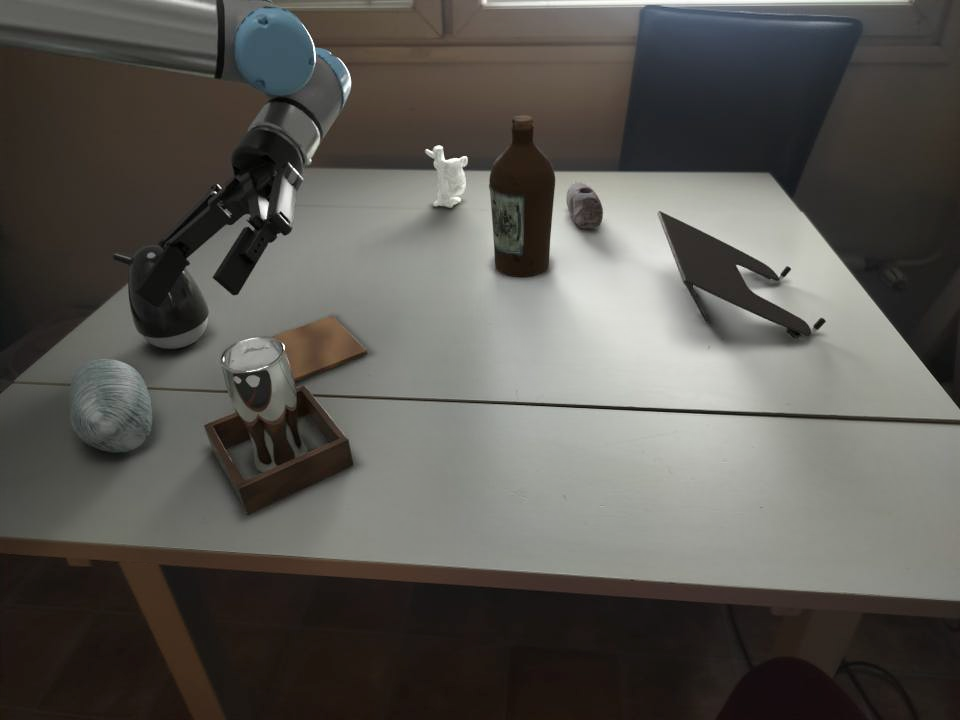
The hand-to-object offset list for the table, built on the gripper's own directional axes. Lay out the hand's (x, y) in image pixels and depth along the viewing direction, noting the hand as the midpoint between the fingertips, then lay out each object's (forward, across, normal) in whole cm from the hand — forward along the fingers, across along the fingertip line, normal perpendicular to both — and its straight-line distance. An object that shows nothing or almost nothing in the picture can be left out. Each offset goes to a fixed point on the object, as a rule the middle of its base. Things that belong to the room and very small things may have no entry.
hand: (183, 293), depth 68 cm
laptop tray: (-38, -37, -56) cm, 77 cm away
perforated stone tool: (-63, -7, -55) cm, 84 cm away
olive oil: (-42, -4, -45) cm, 62 cm away
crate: (+8, +1, -21) cm, 22 cm away
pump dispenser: (-8, +31, -17) cm, 36 cm away
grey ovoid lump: (+9, +22, -12) cm, 27 cm away
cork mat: (-12, +12, -25) cm, 30 cm away
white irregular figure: (-63, +20, -45) cm, 80 cm away
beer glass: (+8, +2, -21) cm, 23 cm away
